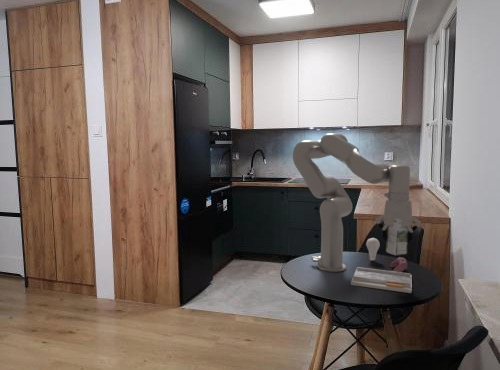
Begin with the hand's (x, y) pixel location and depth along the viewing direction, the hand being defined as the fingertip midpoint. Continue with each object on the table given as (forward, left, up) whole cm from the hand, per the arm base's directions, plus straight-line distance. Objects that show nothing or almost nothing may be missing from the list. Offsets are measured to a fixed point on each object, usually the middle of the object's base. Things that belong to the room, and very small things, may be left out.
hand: (397, 240), depth 147 cm
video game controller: (+1, +17, -17) cm, 24 cm away
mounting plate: (-5, 0, -17) cm, 18 cm away
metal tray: (-5, 0, -16) cm, 17 cm away
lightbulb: (-11, +27, -17) cm, 34 cm away
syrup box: (0, 0, -5) cm, 5 cm away
